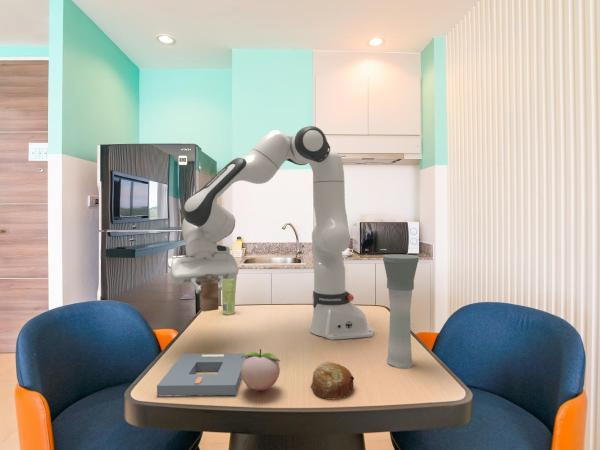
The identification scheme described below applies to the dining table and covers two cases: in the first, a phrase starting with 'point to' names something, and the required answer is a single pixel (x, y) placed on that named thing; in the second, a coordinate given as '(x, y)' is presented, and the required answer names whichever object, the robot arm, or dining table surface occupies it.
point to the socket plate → (203, 375)
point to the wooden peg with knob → (209, 294)
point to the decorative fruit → (260, 370)
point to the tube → (228, 295)
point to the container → (400, 307)
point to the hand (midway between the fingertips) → (209, 291)
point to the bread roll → (332, 380)
